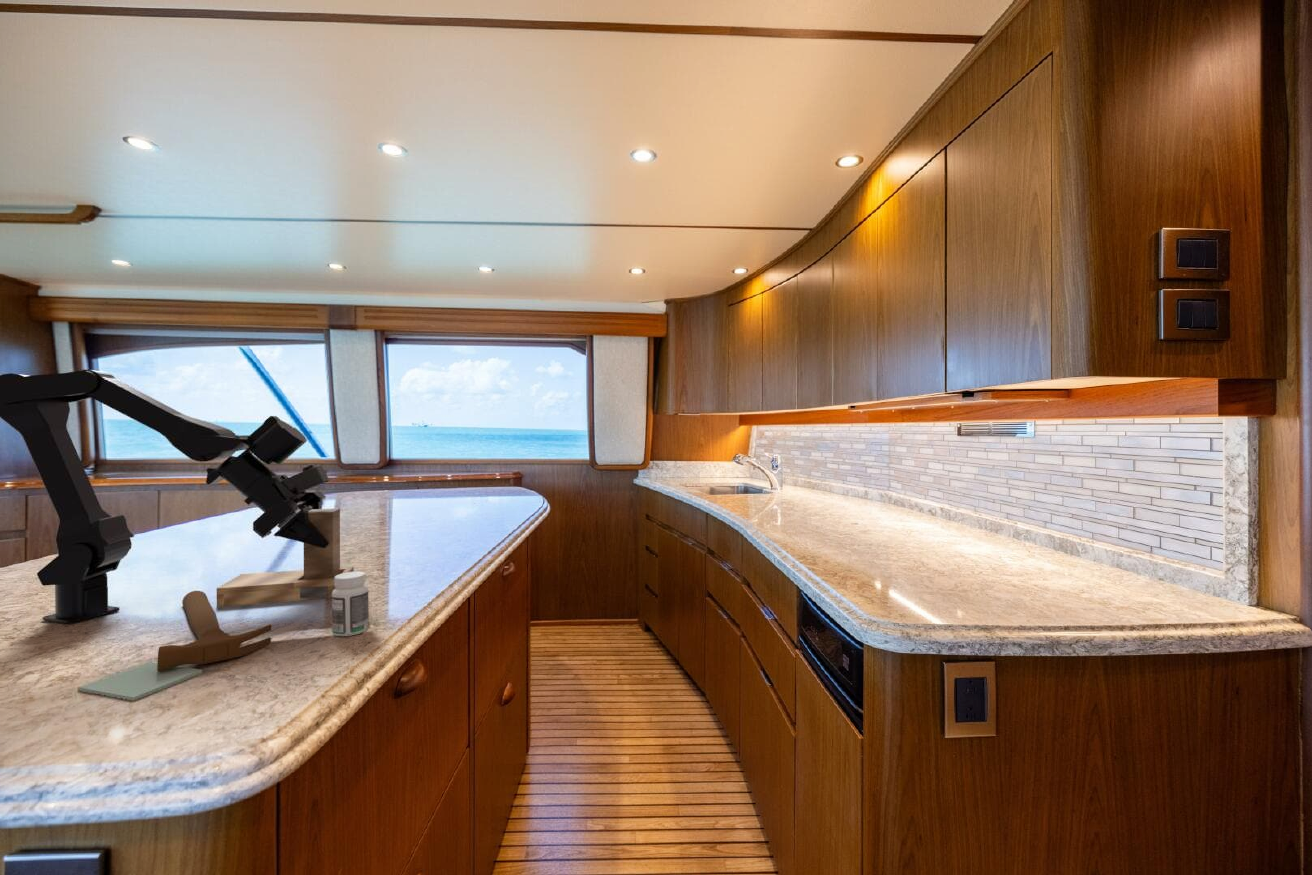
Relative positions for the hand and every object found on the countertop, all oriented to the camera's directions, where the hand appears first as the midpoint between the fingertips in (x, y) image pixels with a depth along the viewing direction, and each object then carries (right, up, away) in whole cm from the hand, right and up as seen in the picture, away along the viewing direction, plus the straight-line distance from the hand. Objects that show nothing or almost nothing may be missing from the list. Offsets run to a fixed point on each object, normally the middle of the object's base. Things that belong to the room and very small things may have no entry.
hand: (330, 543), depth 96 cm
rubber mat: (-3, -10, -33) cm, 34 cm away
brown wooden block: (-1, -6, 0) cm, 6 cm away
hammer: (-7, -10, -17) cm, 21 cm away
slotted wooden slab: (-6, -10, -2) cm, 12 cm away
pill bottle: (+13, -10, -17) cm, 23 cm away
